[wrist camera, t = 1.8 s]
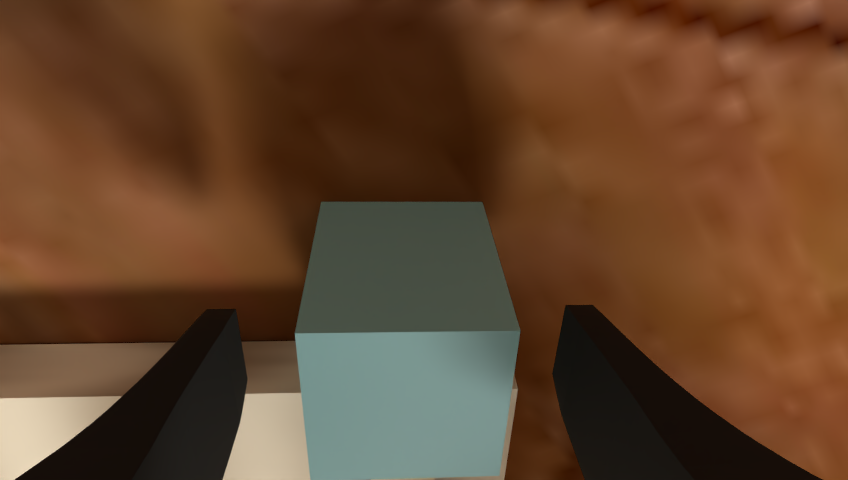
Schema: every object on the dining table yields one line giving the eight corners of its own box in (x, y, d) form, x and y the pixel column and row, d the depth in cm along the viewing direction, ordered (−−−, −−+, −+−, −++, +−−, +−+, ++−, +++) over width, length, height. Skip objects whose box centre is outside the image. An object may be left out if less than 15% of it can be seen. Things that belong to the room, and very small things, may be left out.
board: (505, 338, 17) (518, 390, 16) (480, 527, 22) (488, 583, 20) (-194, 347, 16) (-265, 405, 14) (-63, 544, 21) (-105, 606, 19)
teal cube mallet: (482, 201, 15) (520, 330, 11) (458, 464, 20) (478, 622, 16) (320, 201, 15) (294, 333, 10) (339, 467, 20) (326, 629, 16)
